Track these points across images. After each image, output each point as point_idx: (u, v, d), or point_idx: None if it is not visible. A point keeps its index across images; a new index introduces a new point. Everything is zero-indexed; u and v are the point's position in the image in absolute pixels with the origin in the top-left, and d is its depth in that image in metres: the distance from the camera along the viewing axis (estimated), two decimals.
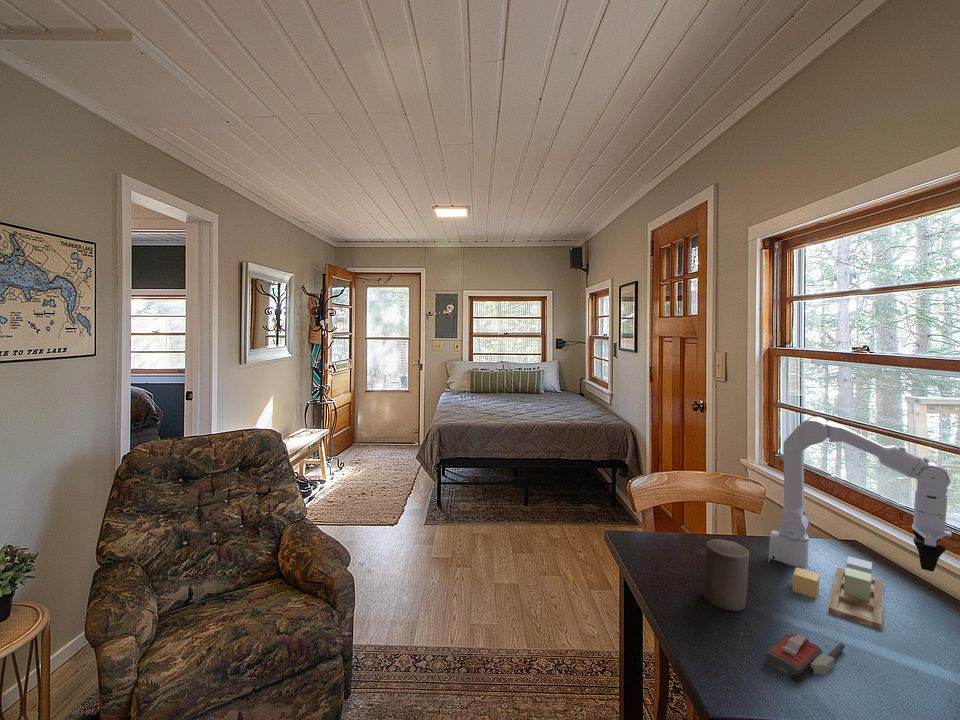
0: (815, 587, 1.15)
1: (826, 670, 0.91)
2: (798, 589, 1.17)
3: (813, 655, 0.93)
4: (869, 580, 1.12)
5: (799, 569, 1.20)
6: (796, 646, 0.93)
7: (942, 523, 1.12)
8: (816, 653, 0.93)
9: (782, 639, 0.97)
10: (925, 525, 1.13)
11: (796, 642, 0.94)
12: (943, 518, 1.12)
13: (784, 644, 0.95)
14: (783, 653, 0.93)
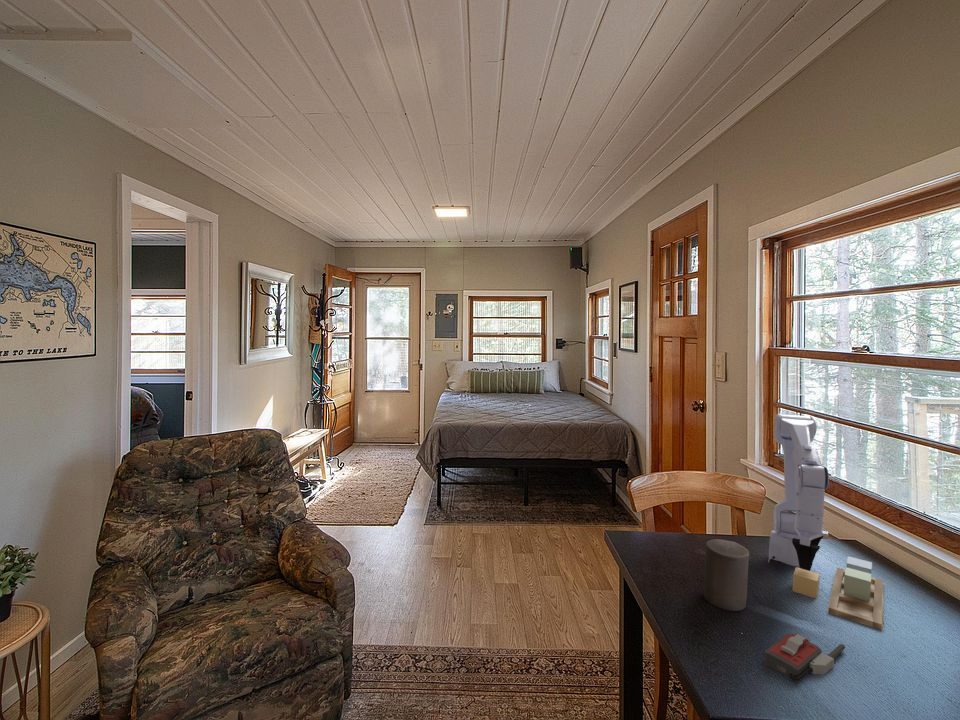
0: (815, 587, 1.15)
1: (826, 670, 0.91)
2: (798, 589, 1.17)
3: (812, 655, 0.93)
4: (869, 580, 1.12)
5: (799, 569, 1.20)
6: (795, 646, 0.93)
7: (819, 523, 1.14)
8: (816, 653, 0.93)
9: (782, 639, 0.97)
10: (803, 525, 1.16)
11: (795, 642, 0.94)
12: (820, 518, 1.14)
13: (783, 644, 0.96)
14: (782, 653, 0.93)
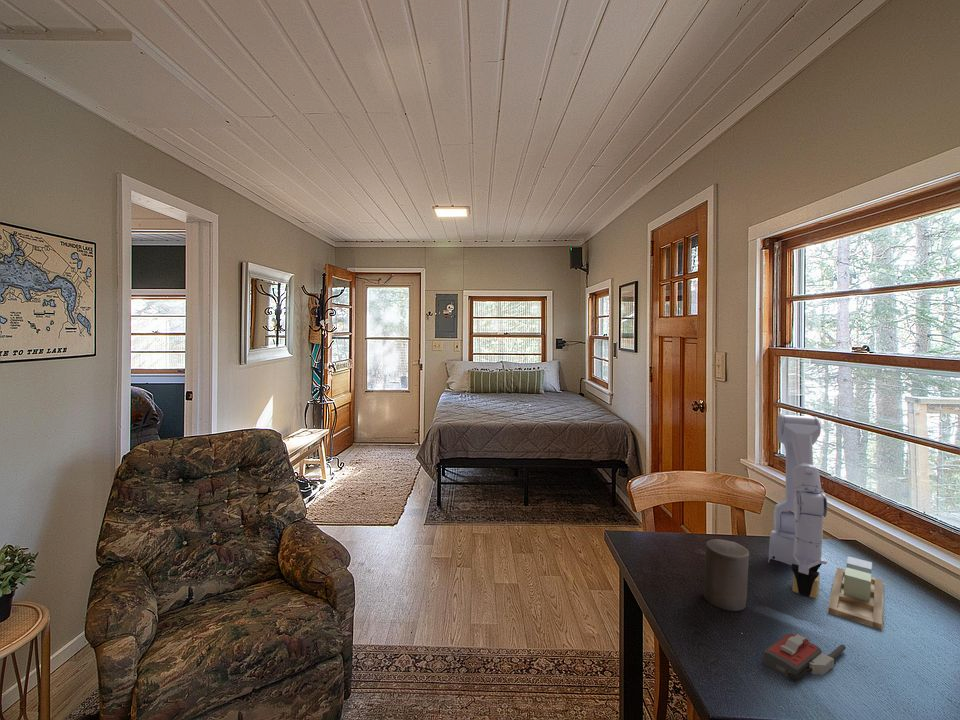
0: (815, 587, 1.15)
1: (825, 670, 0.91)
2: None
3: (812, 655, 0.93)
4: (869, 580, 1.12)
5: None
6: (795, 646, 0.93)
7: (818, 551, 1.15)
8: (815, 653, 0.93)
9: (782, 639, 0.97)
10: (802, 553, 1.16)
11: (795, 642, 0.94)
12: (819, 546, 1.15)
13: (783, 643, 0.96)
14: (781, 652, 0.93)
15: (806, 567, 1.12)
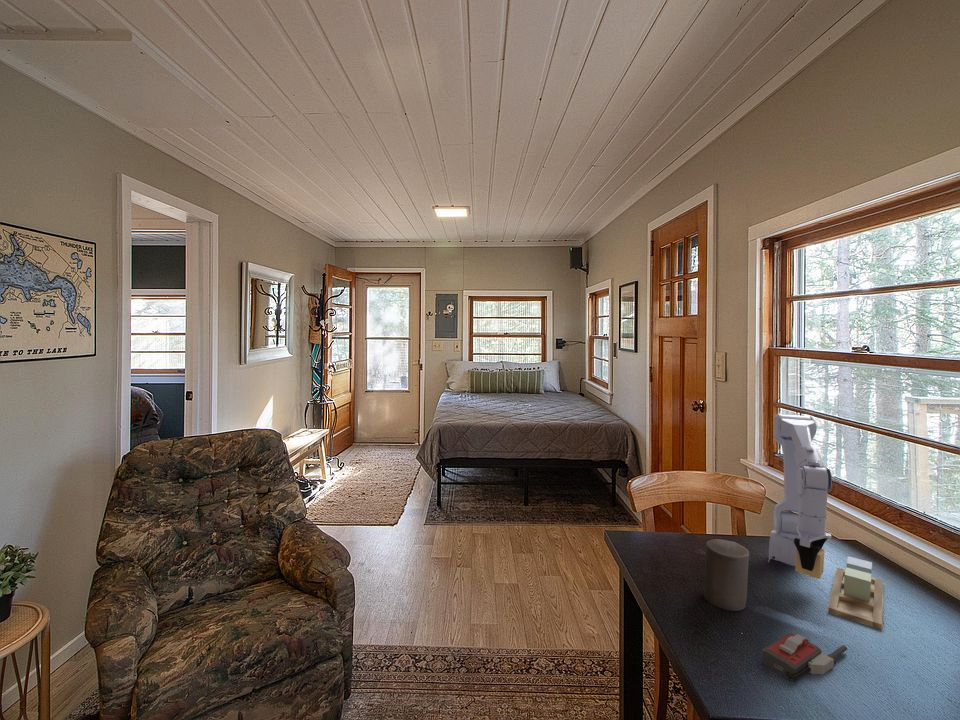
0: (818, 561, 1.14)
1: (824, 670, 0.91)
2: None
3: (811, 655, 0.93)
4: (869, 580, 1.12)
5: None
6: (794, 645, 0.94)
7: (821, 525, 1.14)
8: (815, 653, 0.93)
9: (782, 638, 0.97)
10: (805, 527, 1.15)
11: (794, 641, 0.94)
12: (822, 520, 1.14)
13: (783, 643, 0.96)
14: (780, 651, 0.93)
15: (807, 540, 1.11)
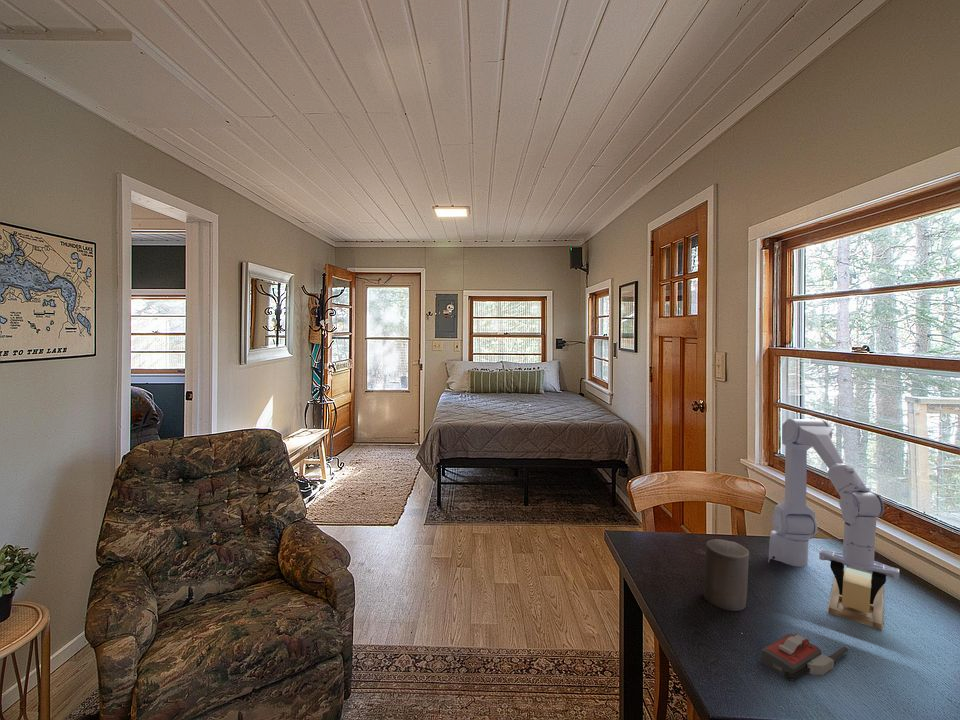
0: None
1: (824, 671, 0.91)
2: None
3: (811, 655, 0.92)
4: None
5: (865, 579, 1.09)
6: (794, 645, 0.93)
7: (848, 551, 1.08)
8: (815, 654, 0.93)
9: (782, 639, 0.97)
10: None
11: (794, 642, 0.94)
12: (850, 546, 1.07)
13: (782, 643, 0.96)
14: (779, 651, 0.93)
15: (820, 552, 1.13)
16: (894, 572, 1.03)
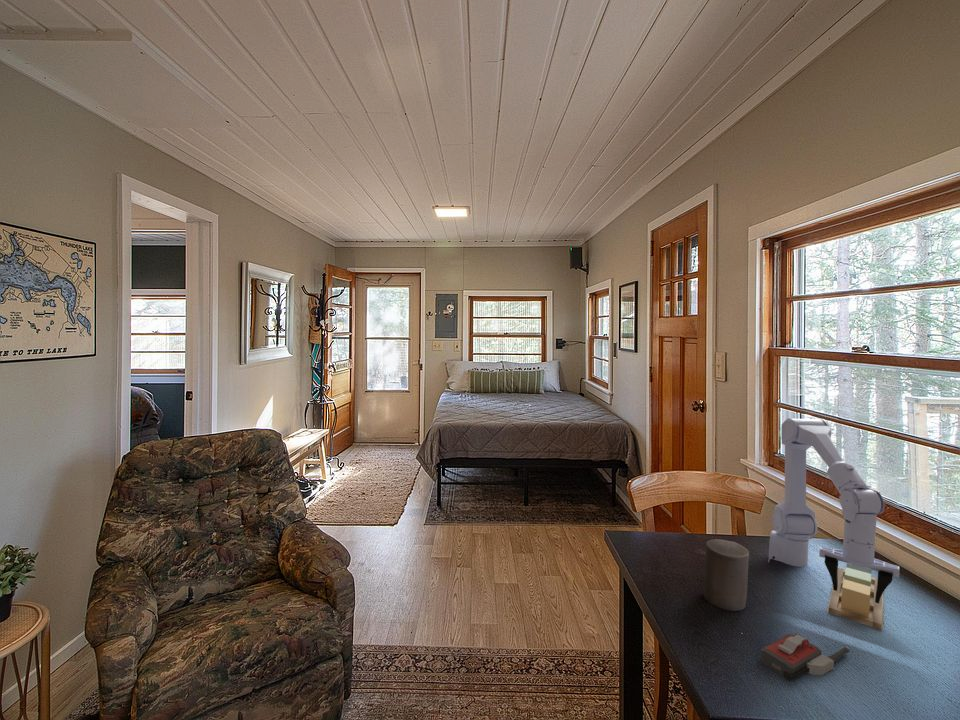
0: None
1: (823, 671, 0.91)
2: None
3: (810, 655, 0.92)
4: (869, 580, 1.12)
5: (865, 586, 1.09)
6: (793, 645, 0.93)
7: (848, 548, 1.08)
8: (815, 654, 0.93)
9: (782, 639, 0.97)
10: None
11: (794, 642, 0.94)
12: (850, 543, 1.07)
13: (782, 643, 0.96)
14: (779, 651, 0.93)
15: (820, 549, 1.13)
16: (894, 569, 1.03)
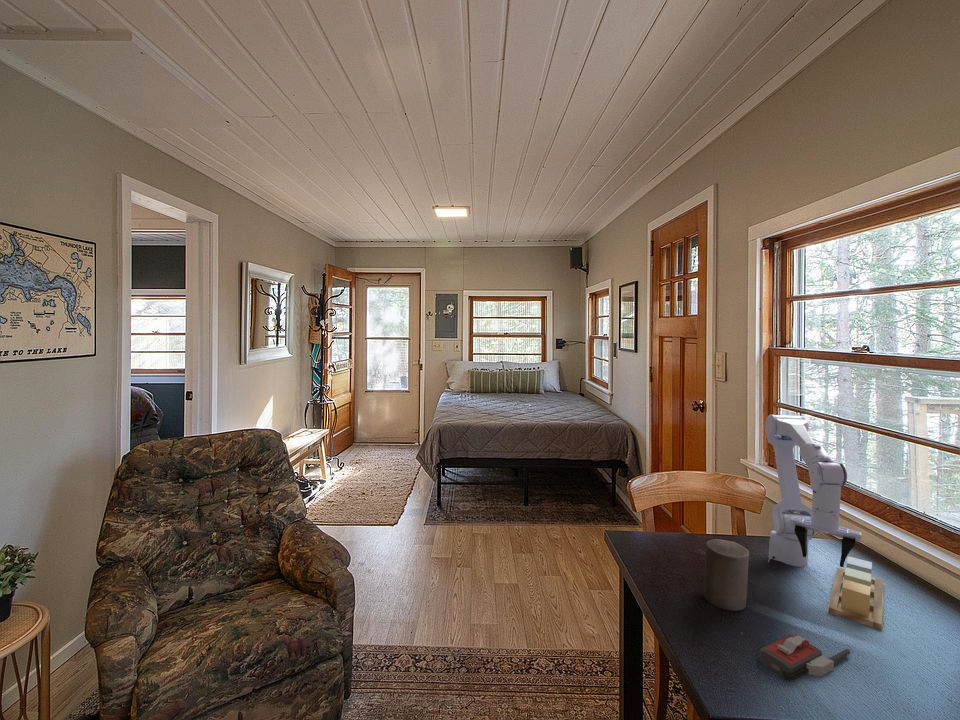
0: None
1: (823, 672, 0.90)
2: None
3: (810, 656, 0.92)
4: (869, 580, 1.12)
5: (865, 586, 1.09)
6: (793, 646, 0.93)
7: (816, 517, 1.17)
8: (814, 655, 0.93)
9: (782, 639, 0.97)
10: None
11: (793, 642, 0.94)
12: (817, 512, 1.16)
13: (782, 643, 0.96)
14: (778, 651, 0.93)
15: (790, 519, 1.22)
16: (856, 535, 1.12)
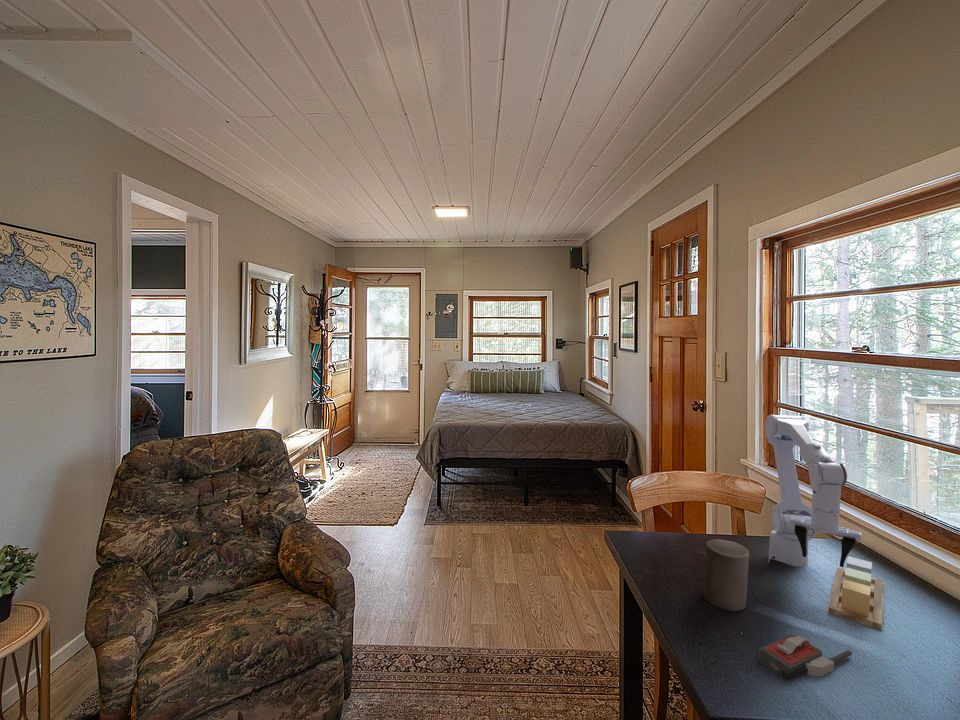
0: None
1: (823, 673, 0.90)
2: None
3: (810, 657, 0.92)
4: (869, 580, 1.12)
5: (865, 586, 1.09)
6: (793, 646, 0.93)
7: (816, 517, 1.17)
8: (815, 655, 0.93)
9: (782, 639, 0.97)
10: None
11: (794, 642, 0.94)
12: (817, 512, 1.16)
13: (782, 643, 0.96)
14: (778, 651, 0.93)
15: (790, 519, 1.22)
16: (856, 535, 1.12)
